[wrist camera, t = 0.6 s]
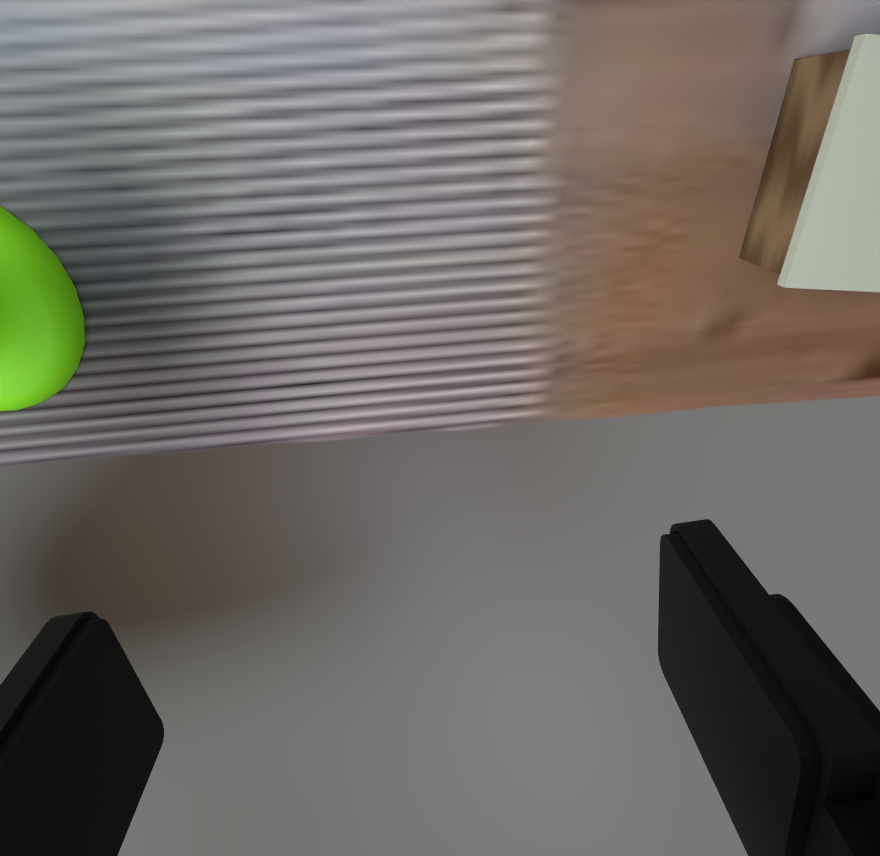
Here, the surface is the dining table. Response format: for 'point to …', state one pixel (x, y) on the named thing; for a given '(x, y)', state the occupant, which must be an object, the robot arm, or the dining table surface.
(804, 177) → the walnut box
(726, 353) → the dining table surface
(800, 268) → the lid
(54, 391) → the wineglass
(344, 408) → the dining table surface
